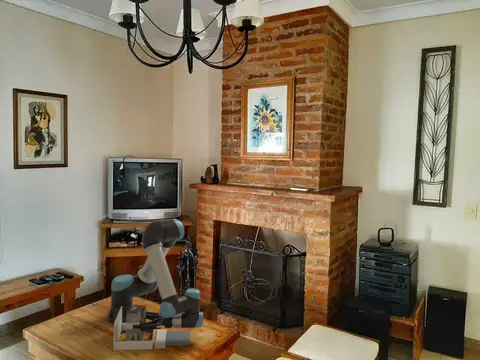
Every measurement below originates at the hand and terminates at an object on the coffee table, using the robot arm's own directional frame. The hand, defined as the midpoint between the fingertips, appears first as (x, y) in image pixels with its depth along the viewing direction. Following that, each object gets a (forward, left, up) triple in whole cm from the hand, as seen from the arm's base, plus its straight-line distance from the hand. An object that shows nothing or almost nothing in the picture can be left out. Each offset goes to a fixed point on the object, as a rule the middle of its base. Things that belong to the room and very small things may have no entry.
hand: (127, 321), depth 187 cm
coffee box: (0, +4, -10) cm, 11 cm away
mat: (0, +25, -9) cm, 27 cm away
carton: (0, +7, -9) cm, 12 cm away
